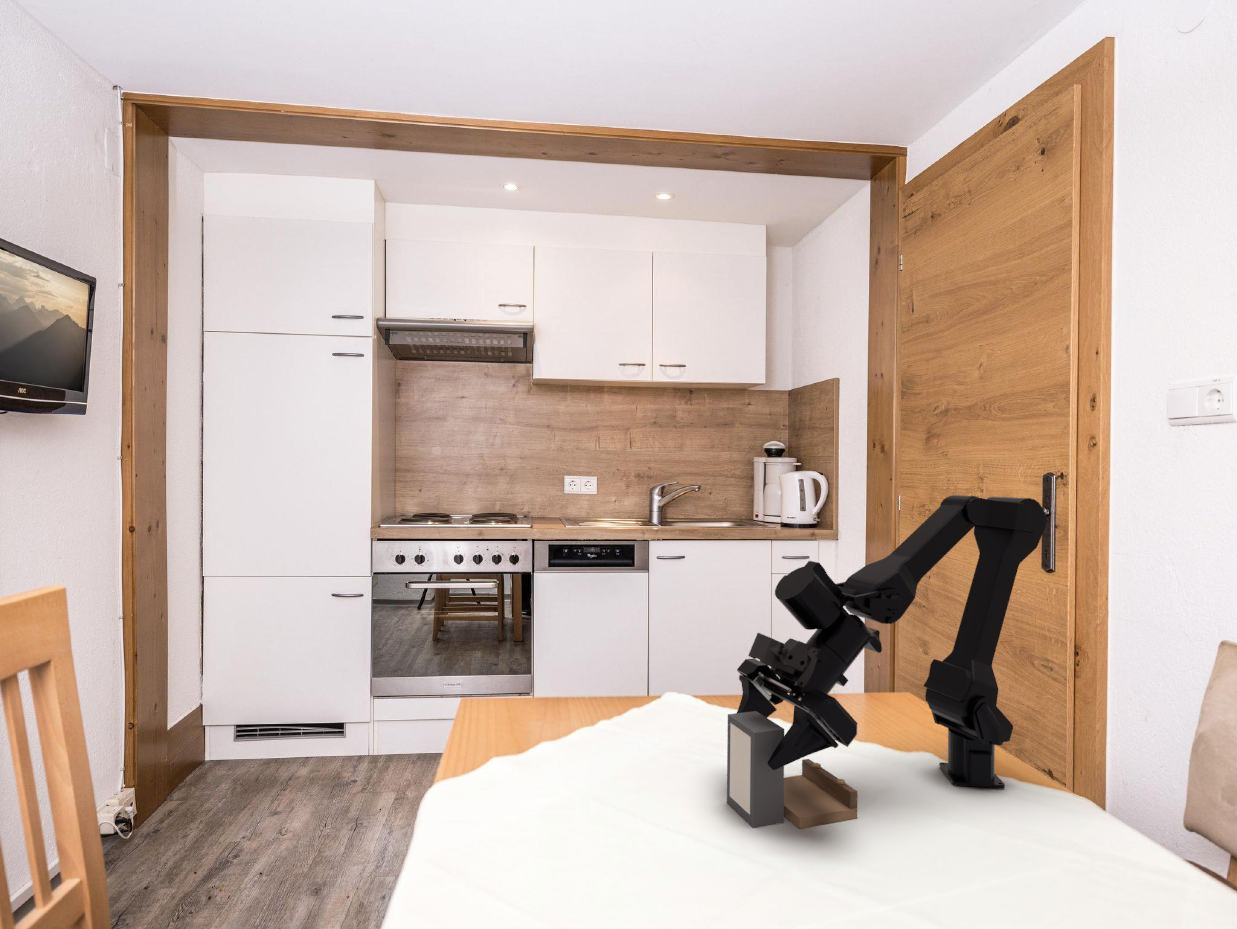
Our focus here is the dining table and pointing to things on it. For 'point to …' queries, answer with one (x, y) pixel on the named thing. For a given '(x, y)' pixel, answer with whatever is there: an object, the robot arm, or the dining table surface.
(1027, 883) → the dining table surface
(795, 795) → the drawer
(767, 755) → the grey box
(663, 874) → the dining table surface
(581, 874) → the dining table surface
